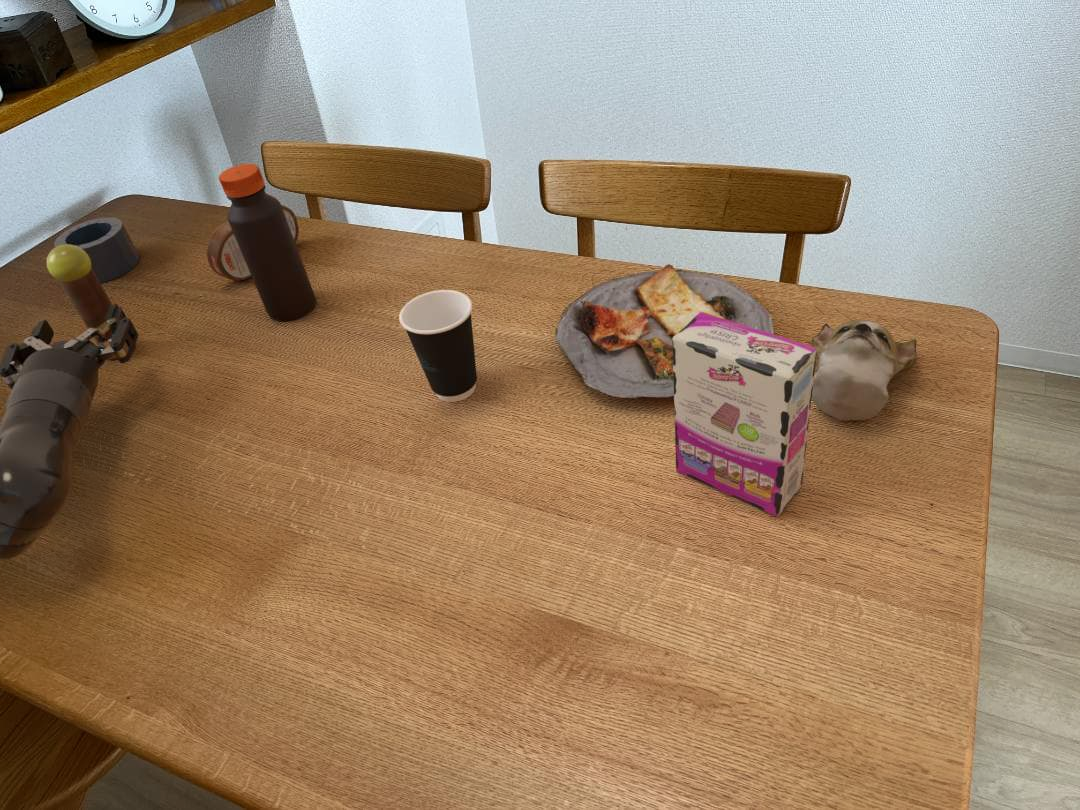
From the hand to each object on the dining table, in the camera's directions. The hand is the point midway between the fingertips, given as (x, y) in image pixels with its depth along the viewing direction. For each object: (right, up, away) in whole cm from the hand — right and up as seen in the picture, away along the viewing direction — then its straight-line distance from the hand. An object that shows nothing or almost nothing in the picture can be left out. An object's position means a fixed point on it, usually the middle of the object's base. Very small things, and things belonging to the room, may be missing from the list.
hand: (82, 318), depth 100 cm
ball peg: (0, -3, +9) cm, 10 cm away
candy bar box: (+76, -18, -22) cm, 81 cm away
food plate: (+71, -3, -5) cm, 71 cm away
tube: (-12, +11, +28) cm, 32 cm away
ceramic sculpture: (+89, -9, -15) cm, 91 cm away
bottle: (+23, +3, +12) cm, 25 cm away
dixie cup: (+47, -9, -6) cm, 48 cm away
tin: (+15, +10, +22) cm, 29 cm away
